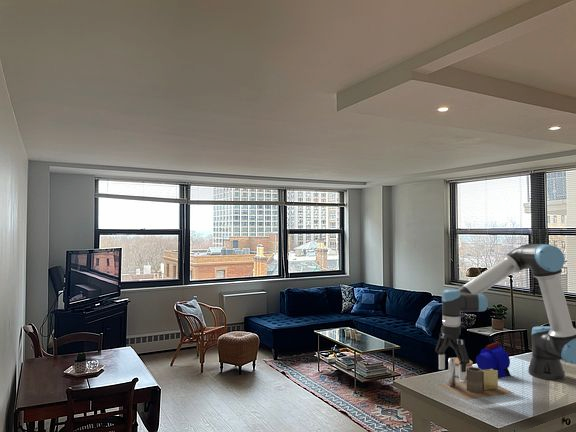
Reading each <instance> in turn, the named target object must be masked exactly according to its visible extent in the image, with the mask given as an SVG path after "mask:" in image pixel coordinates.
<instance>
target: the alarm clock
mask: <svg viewBox="0 0 576 432" xmlns="http://www.w3.org/2000/svg"><path fill="white" fill-rule="evenodd" d="M475 363H476V366H477V368H480V369H482V370H488V369H494V370H498V379H502V378H503V377H504V378H510V377H512V375H511V372H510V370H509V368H510V365H511V359H510V356H509V354H508V352H507V351H506V350H505V348H504V347H502V346H500V342H498V341H496V342H493V343H491V344H487V345H486V346H485V347H484V348H482V349H481V350H480V352H479V354H477V356H476V358H475Z"/></svg>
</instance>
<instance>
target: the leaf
mask: <svg viewBox="0 0 576 432" xmlns="http://www.w3.org/2000/svg"><path fill="white" fill-rule="evenodd" d="M498 379H499V378H498V370H491V371H483V390H491V389H498V386H499V382H498V381H499V380H498Z"/></svg>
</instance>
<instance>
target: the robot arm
mask: <svg viewBox="0 0 576 432" xmlns="http://www.w3.org/2000/svg"><path fill="white" fill-rule="evenodd" d="M565 262H566V260H565V254H564V253H563V251H562V250H561V248H559V247H557V246H555V245H553V244H547V243H528V244H527V243H526V244H523V245H521V246H518V247H516V248H514V249H512V250H511V251H510V252H508V253H507V254H505V255H504V256H502V259H501V260H500V261H499V262H497V263H496V264H494V265H492V266H491V267H489V268H488V269H486V270H484V271H483V272H481V273H480V274H479V275H477V276H476V277H474V278H473V279H471V280H469V281H468V282H467V283H465V284H463V285H462V286H460V287H458V288H457V289H451V288H449V289H447V288H446V289H444V290H442V294H441V303H442V304H441V306H442V307H441V309H442V313H441V314H442V318H441V319H442V320H441V321H442V327H441V328H442V329H441V331H442V332H440V333H439V335H438V340H437V342H436V346H435V349H434V351H435V353H437V356H438V358H437V359H438V360H437V361H438V370H441V371H442V370H445V369H446V354H445V352H446V350H447V349H448V348H452V350H453V351H454V352H455V355H456V358H458V359H459V361H460V363H459V377H458V380H460V381H461V380H462V381H463V380H466V377H465V372H466V364H469V363H470V361H469V360H470V358H469V355H468V352H467V348H466V343H465V339H460V337H459V336H461V333H462V332H461V328H462V327H461V325H462V323H461V322H462V321H461V318H462V317H461V312H462V313H463V312H468V313H469V312H478V313H479V312H485V311H486V310H488V307H489V305H488V304H489V302H488V299H487V297H486V295H484V294H483V293H484V292H486V291H487V290H489V289H490V288H492V287H494V286H495V285H497V284H499V283H500V282H501V281H502V280H505V279H506V278H507V277H508V276H510V275H512V274H514V273H516V274H517V273H519V272H521V271H523V270H527V269H531V274H532V276H533V277H534V278H536V279H537V282H538V285H539V288H540V293H541V296H542V300H543V304H544V308H545V313H546V315H547V319H548V323H549V326H547V325H546V326H543V325H541V326H540V325H539V326H533V327H532V329H531V334H530V335H531V353H532V354H531V355H532V356H531V359H530V363H529V366H528V369H527V370H528V373H529V375H531V376H533V377H536V378H539V379H544V380H550V381H559V380H561V381H562V380H565V379H566V372H565V371H564V368H563V364H562V362H561V361H563V362H565V363H566V364H567V363H568V364H573V365H576V327H574V325H573V321H572V319H571V315H570V310H569V307H568V303H567V300H566V297H565V291H564V289H563V285H562V280H561V277H560V275H561V274H562V273H563V267H564V264H566V263H565ZM462 360H463V361H462ZM466 360H467V361H466Z"/></svg>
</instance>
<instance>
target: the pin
mask: <svg viewBox="0 0 576 432" xmlns="http://www.w3.org/2000/svg"><path fill="white" fill-rule="evenodd" d="M455 358H456V357H448V360H447V361H448V365H447V366H448V368H447V369H448V383H449V387H456V382H457V381H456V376H455Z"/></svg>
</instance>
